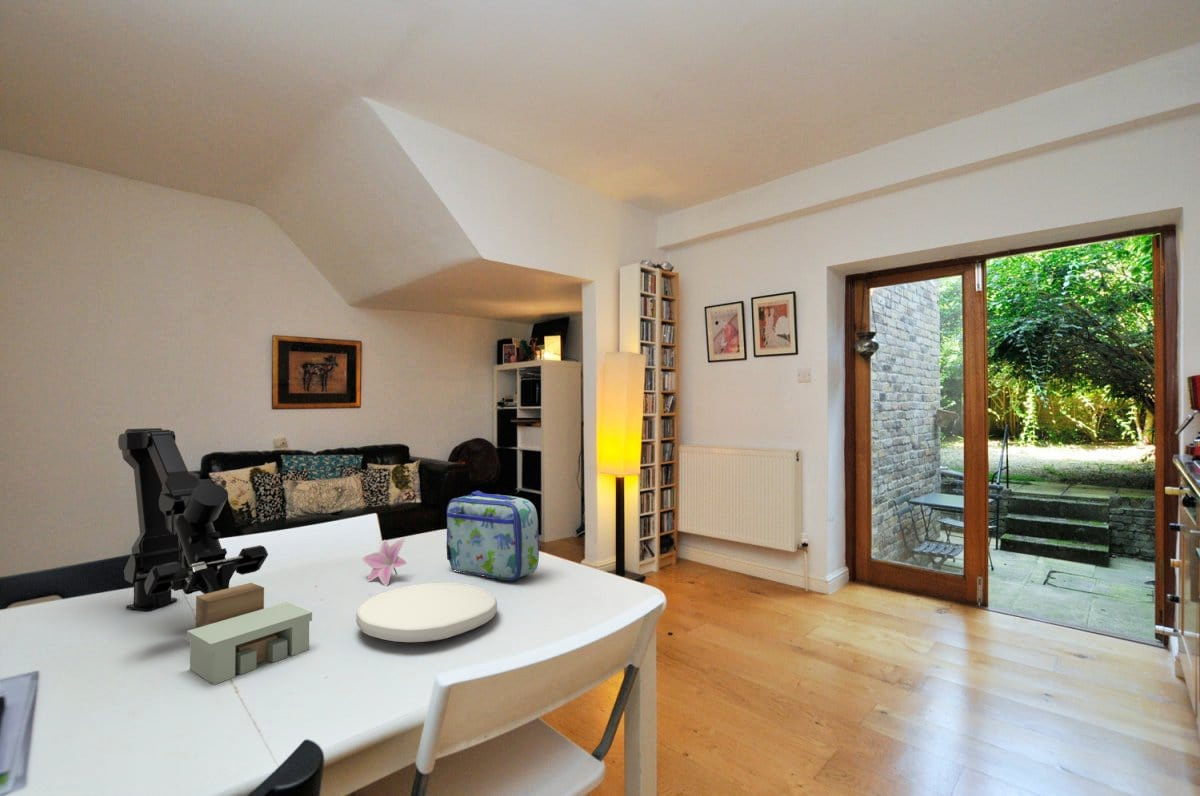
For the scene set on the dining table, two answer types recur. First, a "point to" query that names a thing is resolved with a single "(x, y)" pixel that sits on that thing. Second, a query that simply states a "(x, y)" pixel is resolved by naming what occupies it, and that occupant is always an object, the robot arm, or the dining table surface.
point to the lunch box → (492, 535)
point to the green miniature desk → (219, 639)
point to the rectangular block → (234, 612)
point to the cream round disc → (426, 612)
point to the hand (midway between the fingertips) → (223, 606)
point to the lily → (385, 561)
